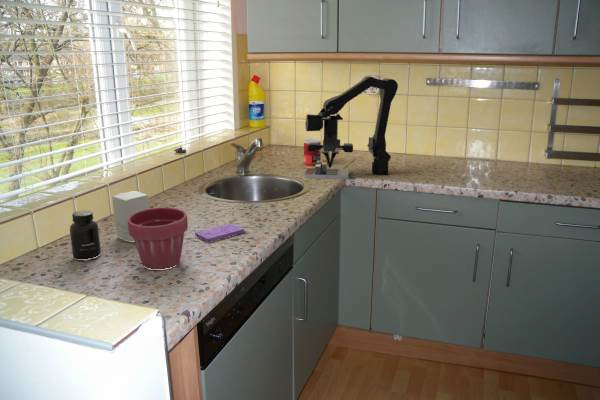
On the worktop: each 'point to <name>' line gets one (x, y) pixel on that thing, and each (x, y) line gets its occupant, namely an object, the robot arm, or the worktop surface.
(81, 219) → the supplement bottle
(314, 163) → the canned food
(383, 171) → the robot arm
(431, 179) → the worktop surface
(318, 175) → the breaker panel
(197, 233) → the sponges
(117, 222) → the supplement box
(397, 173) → the worktop surface
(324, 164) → the breaker handle
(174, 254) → the plant pot
